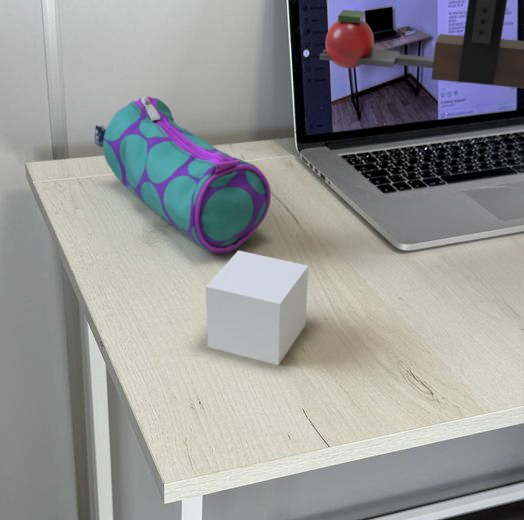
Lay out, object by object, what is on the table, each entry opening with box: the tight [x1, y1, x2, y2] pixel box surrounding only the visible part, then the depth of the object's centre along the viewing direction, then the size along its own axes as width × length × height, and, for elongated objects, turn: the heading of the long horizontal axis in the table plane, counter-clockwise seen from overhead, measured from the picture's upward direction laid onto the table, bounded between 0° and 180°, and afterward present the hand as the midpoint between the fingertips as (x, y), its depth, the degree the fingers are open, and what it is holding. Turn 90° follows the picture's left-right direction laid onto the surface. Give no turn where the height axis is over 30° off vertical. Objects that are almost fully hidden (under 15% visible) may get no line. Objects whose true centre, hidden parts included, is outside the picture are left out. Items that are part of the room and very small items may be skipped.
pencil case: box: [94, 95, 272, 255], centre depth 86 cm, size 21×9×10 cm, turn 33°
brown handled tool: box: [319, 9, 524, 89], centre depth 71 cm, size 20×4×4 cm, turn 73°
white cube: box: [205, 250, 309, 366], centre depth 69 cm, size 6×6×6 cm
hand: (477, 74), depth 71 cm, fingers closed on brown handled tool, 2 cm apart
